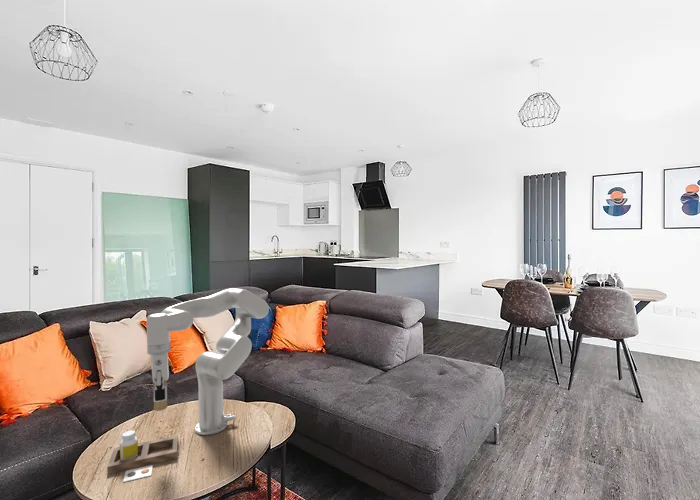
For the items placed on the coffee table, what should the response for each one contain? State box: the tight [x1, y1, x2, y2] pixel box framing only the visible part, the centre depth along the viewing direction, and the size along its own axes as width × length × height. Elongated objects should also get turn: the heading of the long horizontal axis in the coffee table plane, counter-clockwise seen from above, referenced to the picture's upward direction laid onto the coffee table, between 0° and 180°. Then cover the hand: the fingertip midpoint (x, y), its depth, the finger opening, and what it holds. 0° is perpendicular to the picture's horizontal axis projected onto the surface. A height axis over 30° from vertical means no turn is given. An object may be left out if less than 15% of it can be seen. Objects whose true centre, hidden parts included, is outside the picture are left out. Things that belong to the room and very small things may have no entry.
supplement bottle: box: [119, 429, 139, 461], centre depth 128 cm, size 5×5×10 cm
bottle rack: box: [106, 435, 179, 475], centre depth 130 cm, size 21×12×2 cm, turn 114°
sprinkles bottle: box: [152, 378, 168, 412], centre depth 132 cm, size 5×5×14 cm
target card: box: [122, 464, 154, 483], centre depth 121 cm, size 8×6×1 cm
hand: (160, 396), depth 132 cm, fingers closed on sprinkles bottle, 4 cm apart
